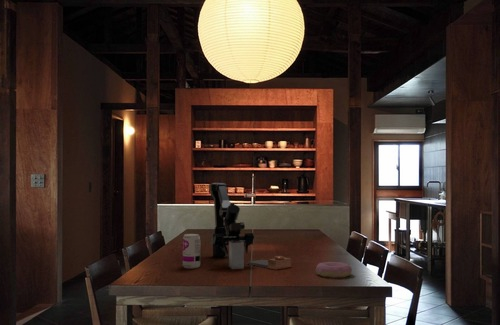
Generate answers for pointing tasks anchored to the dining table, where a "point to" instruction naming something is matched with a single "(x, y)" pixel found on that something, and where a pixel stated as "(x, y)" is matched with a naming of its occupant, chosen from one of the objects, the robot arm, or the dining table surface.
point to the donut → (333, 269)
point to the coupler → (273, 263)
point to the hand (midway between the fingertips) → (237, 253)
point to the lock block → (236, 254)
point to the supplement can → (191, 251)
